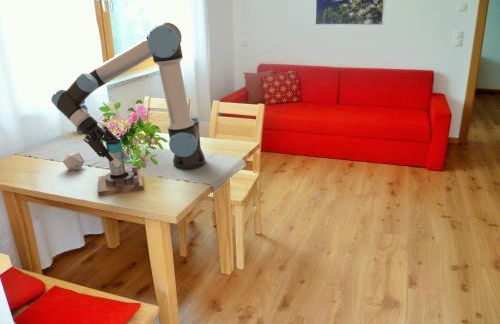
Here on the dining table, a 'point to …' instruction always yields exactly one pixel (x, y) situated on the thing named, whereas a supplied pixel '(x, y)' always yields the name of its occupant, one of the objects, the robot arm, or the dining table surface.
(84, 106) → the beverage bottle
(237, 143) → the dining table surface
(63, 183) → the dining table surface
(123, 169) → the beverage can
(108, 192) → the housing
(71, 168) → the die
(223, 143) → the dining table surface
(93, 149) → the robot arm
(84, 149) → the dining table surface
